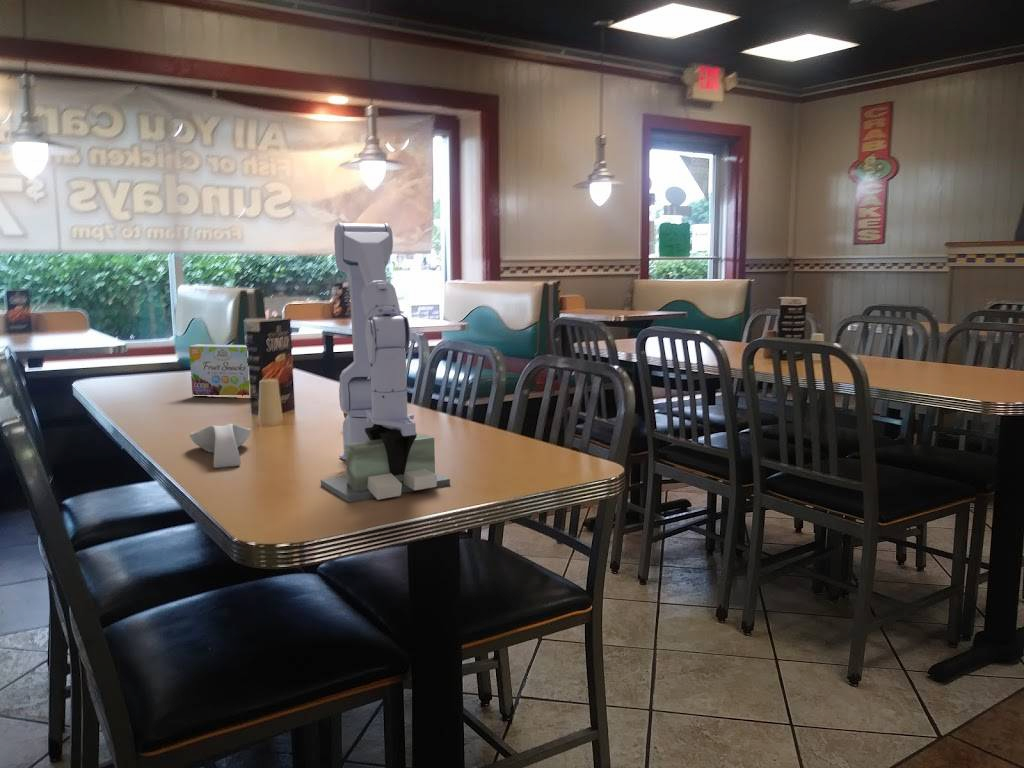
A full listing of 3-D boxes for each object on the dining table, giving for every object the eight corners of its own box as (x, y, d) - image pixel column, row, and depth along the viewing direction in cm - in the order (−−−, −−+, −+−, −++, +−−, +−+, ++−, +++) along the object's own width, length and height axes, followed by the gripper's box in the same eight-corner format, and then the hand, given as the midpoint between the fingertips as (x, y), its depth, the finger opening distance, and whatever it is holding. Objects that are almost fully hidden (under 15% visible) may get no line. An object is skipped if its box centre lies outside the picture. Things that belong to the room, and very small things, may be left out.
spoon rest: (189, 446, 165) (187, 412, 164) (248, 441, 170) (246, 408, 169) (195, 472, 144) (192, 433, 143) (262, 465, 149) (260, 427, 148)
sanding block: (346, 486, 129) (345, 443, 128) (424, 473, 137) (423, 433, 136) (356, 491, 126) (355, 448, 125) (435, 478, 133) (434, 437, 132)
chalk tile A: (367, 488, 127) (368, 476, 126) (390, 484, 129) (391, 473, 128) (377, 499, 124) (378, 488, 123) (400, 495, 126) (401, 484, 125)
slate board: (320, 485, 134) (320, 479, 133) (417, 470, 143) (417, 464, 143) (348, 502, 124) (348, 496, 123) (450, 484, 134) (449, 478, 133)
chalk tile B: (403, 483, 130) (403, 472, 130) (425, 480, 132) (425, 468, 132) (414, 490, 127) (414, 478, 127) (436, 486, 129) (436, 474, 129)
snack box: (191, 397, 229) (187, 345, 227) (201, 394, 234) (198, 343, 232) (260, 399, 225) (257, 346, 223) (269, 396, 231) (266, 344, 229)
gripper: (432, 393, 125) (433, 477, 127) (392, 382, 137) (394, 460, 139) (391, 397, 121) (393, 484, 123) (353, 386, 133) (356, 465, 135)
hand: (391, 471), depth 131 cm, fingers closed on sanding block, 4 cm apart
